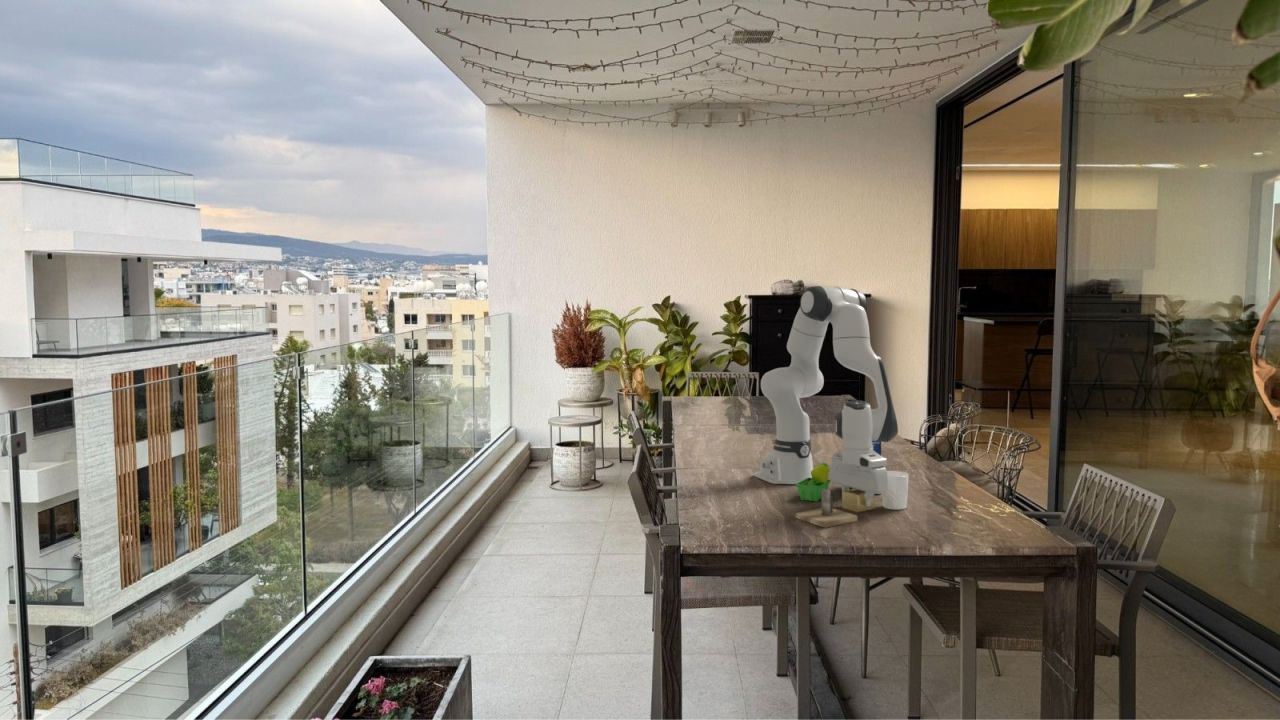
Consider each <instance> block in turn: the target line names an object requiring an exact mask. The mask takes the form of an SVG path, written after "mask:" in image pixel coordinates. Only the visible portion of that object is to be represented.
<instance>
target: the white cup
mask: <svg viewBox="0 0 1280 720" xmlns="http://www.w3.org/2000/svg"><path fill="white" fill-rule="evenodd" d="M887 477H888V488H887V491H886V492H885V493H882V494H881V498H882V507H883V508H884V509H887V510H892V511H893V510H905V509H907V505H908V493H909V473H908V472H906V471H900V470H887Z"/></svg>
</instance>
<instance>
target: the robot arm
mask: <svg viewBox="0 0 1280 720" xmlns="http://www.w3.org/2000/svg"><path fill="white" fill-rule="evenodd" d="M867 304H868V302H867V298H866V296H865V294H864V292H861V291H860V290H858V289H854V288H846V287H841V286H821V285H814V286H809V287H807V288H805V290H804V291H803V292H802V295H801V296H800V299H799V309H798V311H797V313H796V315H795V317H794V319H793V323H792V326H791V328H790V329H791V330H790V333H789V337H788V340H787V343H786V349H787V352H788V353H789V354H790V356H791V360H790V361H791V362H790V365H789V366H785V367H777V368H774V369H772V370H769V371H767V372H765V373H764V374H763V375H762V378H761V379H760V389H761V392H762V394H763V396H764V397H765V398H767V400H769V402H770V404H771V405H772V408H773V411H774V414H775V423H776V439H772V440H771V444H774V445H773V447H772V448H773V449H772V450H771V451H769V453H768V454H766V455H764V457H763V458H762V459H761V461H760V469H759V470H758V471H756V472H754V473H753V476H754V477H755V478H757V479H759V480H763V481H765V482H766V483H767V482H768V483H770V484H772V485H784V484H785V485H796V484H797V483H799V482H801V481H803V480H804V479H806V478H812V476H811V471H812V470H813V469H814V463H813V455H812V453H811V450H812V440H811V437H810V431H811V430H810V429H811V427H810V425H811V424H810V417H809V415H808V413H807V412H805V411H804V410H803V408H802V406H801V401H800V399H803V398H809V397H811V396H814V395H816V394H818V393H819V392H821V390H822V389H823V387H824V384H825V383H824V382H825V380H824V379H825V378H824V375H823V373H822V371H821V370H820V368H819V367H820V365H819V364H820V363H819V361H820V360H819V359H820V353H821V350H822V347H823V342H824V340H825V337H826V332H827V330H828V325H829V323H830V324H831V325H832V347H833V348H832V349H833V354H834V355H833V356H834V358H835V359H836V361H837V362H838V363H839V364H840V365H842V366H843V367H844V368H847V369H849V370H851V371H854V372H857V373H860V374H863V375H865V376H866V377H868V378H869V379H870V380H871V381H872V384H873V388H874V391H875V397H876V401H877V406H878V407H876V408H871V404H870V403H869V402H867V401H864V400H861V399H859V400H858V399H856V400H855V399H853V400H849V401H846V402H845V403H844V404H843V409H842V410H841V409H840V411H838V412H837V413H836V415H835V416H834V419H835V430H834V434H835V435H836V436H837V437H838V438H840V439H841V440H842V444H841V453H840V452H835V453H834V454H833V455H832V456H831V463H830V467H829V480H830V483H833V484H836V485H841V487H840V488H841V492H842V491H846V490H850V488H851V487H852V488H851V489H853V488H856V489H860V490H864V491H866V495H867V497H866V499H863V502H864V503H863V505H865V506H871V500H872V498H873V499H874V496H875V495H877V494H879V495H880V494H881V493H885V492H886V491H887V488H888V477H887V471H888V469H886V468H887V467H885V466H887V463H888V461H887V458H886V457H884V456H883V455H882V454H881V455H879V454H878V453H876V452H875V451H873V444H872V441H879V442H881V443H889V442H891V441H892V440H894V438H895V437H896V436H897V435H898V433H899V420H898V417H897V415H896V411H895V408H894V404H893V400H892V396H891V395H892V394H891V390H890V386H889V381H888V375H887V373H886V368H885V365H884V362H883V360H882V358H881V357H880V355H877V354H876V352H874V350H873V348H872V346H871V338H870V337H871V336H870V334H871V333H870V327H869V320H868V316H867ZM874 493H876V494H874ZM881 495H882V494H881Z"/></svg>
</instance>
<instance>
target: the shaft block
mask: <svg viewBox="0 0 1280 720" xmlns="http://www.w3.org/2000/svg"><path fill="white" fill-rule="evenodd" d="M833 499H834V498H833V494H831V489H830V488H828V489H822V498H821V507H820V508H816V509H810V510H804V511H800V512H795V519H796V518H798V519H797V520H799V519H801V520H800V521H802V520H804V521H803V522H805V521H807V522H806V523H809V522H810V523H809V524H812V523H813V524H812V525H816V526H819V527H822V528H830V527H834V526H835V527H836V526H840V525H844V524H850V523H855V522H858V515H856V514H853V513H850V512H846V511H843V510H840V509H835V508H834V506H833Z"/></svg>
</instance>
